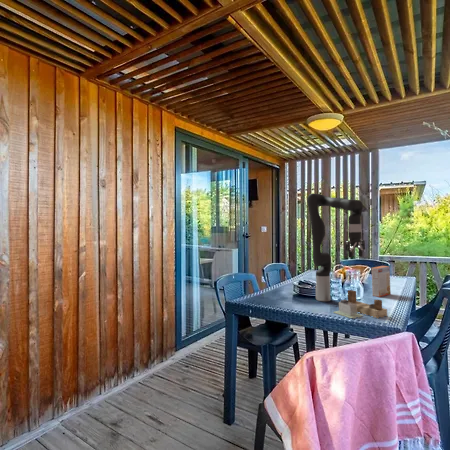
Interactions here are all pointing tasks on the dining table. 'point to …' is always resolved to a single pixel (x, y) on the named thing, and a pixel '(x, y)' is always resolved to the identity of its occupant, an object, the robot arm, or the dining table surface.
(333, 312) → the mat
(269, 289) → the dining table surface
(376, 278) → the cracker box
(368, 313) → the plane body
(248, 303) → the dining table surface
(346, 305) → the beige rectangular block
